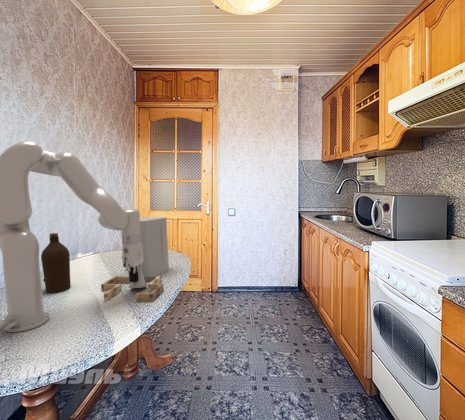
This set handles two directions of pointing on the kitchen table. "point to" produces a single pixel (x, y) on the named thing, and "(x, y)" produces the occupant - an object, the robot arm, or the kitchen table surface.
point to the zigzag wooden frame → (115, 288)
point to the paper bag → (154, 245)
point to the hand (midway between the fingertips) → (133, 281)
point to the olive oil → (56, 266)
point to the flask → (139, 280)
